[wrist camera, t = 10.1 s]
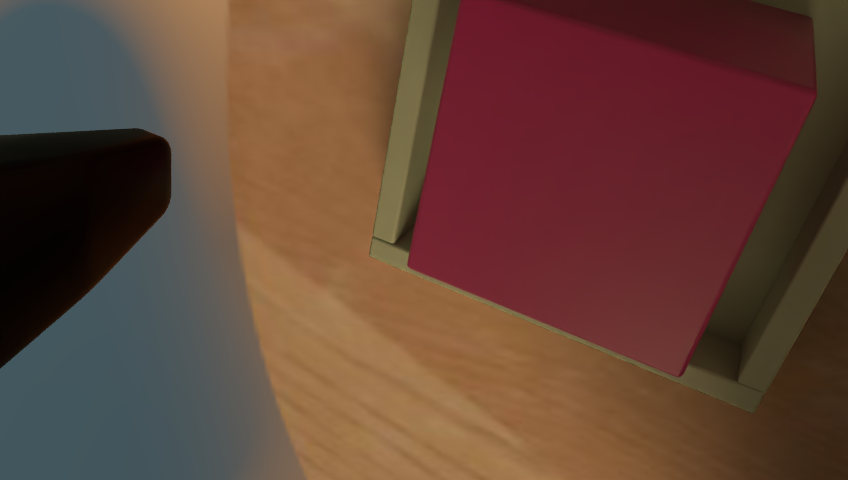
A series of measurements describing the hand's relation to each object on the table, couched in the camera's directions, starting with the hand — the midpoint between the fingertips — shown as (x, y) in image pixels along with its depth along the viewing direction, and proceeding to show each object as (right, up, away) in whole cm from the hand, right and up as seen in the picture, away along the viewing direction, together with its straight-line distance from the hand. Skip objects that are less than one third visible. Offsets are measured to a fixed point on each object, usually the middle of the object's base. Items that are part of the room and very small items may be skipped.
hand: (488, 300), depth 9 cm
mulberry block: (+4, +4, +7) cm, 9 cm away
